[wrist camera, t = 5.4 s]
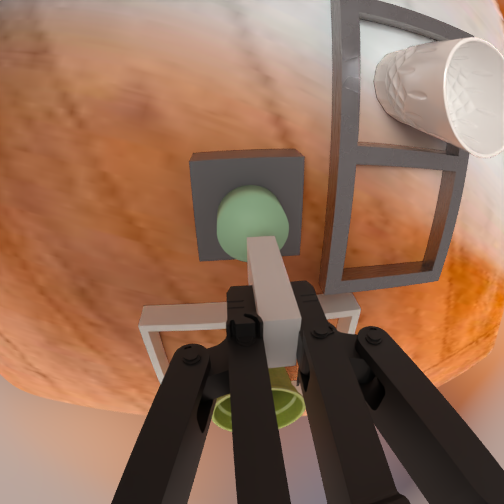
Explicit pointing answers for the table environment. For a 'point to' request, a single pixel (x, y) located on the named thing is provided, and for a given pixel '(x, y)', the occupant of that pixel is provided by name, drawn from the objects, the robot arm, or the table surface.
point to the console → (240, 174)
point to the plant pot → (284, 397)
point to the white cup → (447, 92)
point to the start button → (249, 219)
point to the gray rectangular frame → (224, 322)
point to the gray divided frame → (380, 156)
